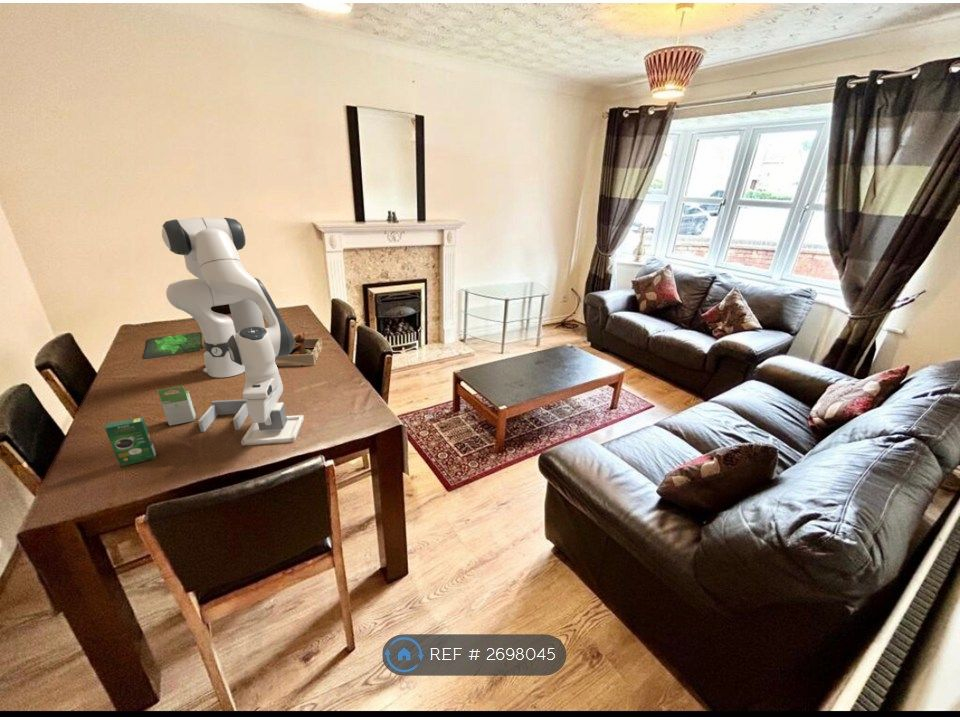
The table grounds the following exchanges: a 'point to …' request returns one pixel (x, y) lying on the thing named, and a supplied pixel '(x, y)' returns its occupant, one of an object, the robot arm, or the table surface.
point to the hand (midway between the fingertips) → (272, 418)
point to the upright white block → (276, 418)
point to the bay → (225, 412)
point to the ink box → (177, 406)
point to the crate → (302, 358)
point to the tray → (274, 432)
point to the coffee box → (130, 441)
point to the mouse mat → (172, 345)
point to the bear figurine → (300, 345)
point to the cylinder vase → (246, 315)
